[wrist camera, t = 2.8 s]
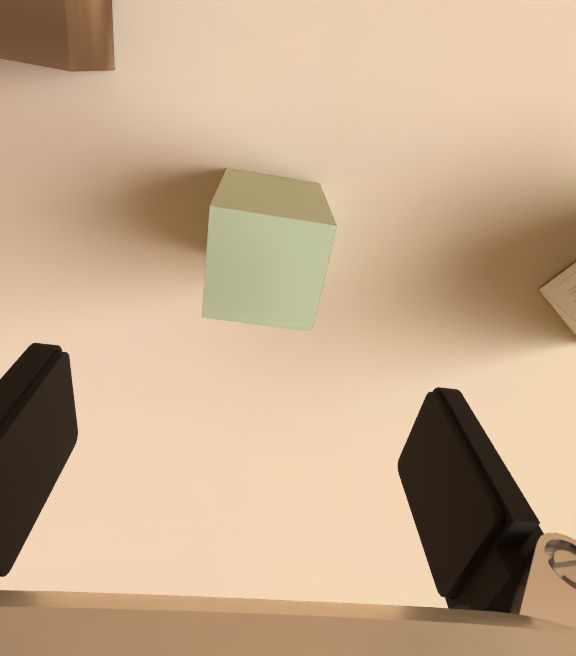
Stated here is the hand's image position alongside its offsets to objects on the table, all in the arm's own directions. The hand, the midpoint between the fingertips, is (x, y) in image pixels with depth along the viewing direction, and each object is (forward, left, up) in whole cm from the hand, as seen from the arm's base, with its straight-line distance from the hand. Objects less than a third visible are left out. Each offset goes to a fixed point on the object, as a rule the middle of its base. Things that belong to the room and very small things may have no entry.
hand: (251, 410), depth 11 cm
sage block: (0, 0, -15) cm, 15 cm away
